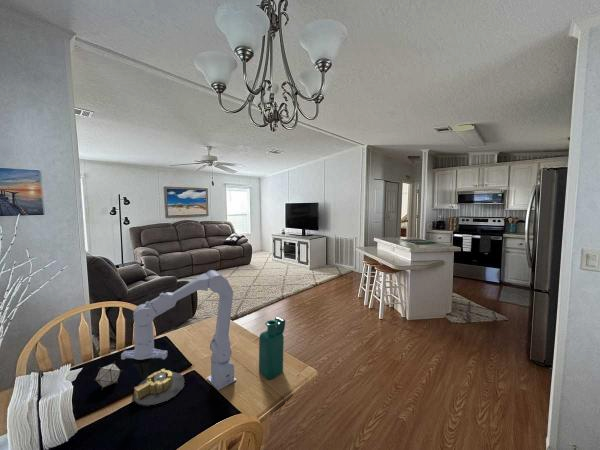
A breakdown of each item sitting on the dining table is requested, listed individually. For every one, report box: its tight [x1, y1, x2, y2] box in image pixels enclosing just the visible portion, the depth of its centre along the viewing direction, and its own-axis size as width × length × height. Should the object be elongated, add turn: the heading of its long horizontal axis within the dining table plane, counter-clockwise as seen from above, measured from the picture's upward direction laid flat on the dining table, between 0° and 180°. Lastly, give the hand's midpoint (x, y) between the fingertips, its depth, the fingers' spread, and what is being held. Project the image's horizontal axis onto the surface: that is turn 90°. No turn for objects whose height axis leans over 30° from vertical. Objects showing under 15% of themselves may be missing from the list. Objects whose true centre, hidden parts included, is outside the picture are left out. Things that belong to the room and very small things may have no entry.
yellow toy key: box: [135, 368, 173, 399], centre depth 96 cm, size 12×9×4 cm
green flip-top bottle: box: [258, 316, 286, 380], centre depth 109 cm, size 10×8×22 cm
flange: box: [132, 371, 185, 407], centre depth 98 cm, size 17×17×5 cm
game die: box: [93, 360, 124, 391], centre depth 99 cm, size 9×8×10 cm
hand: (145, 377), depth 90 cm, fingers closed
